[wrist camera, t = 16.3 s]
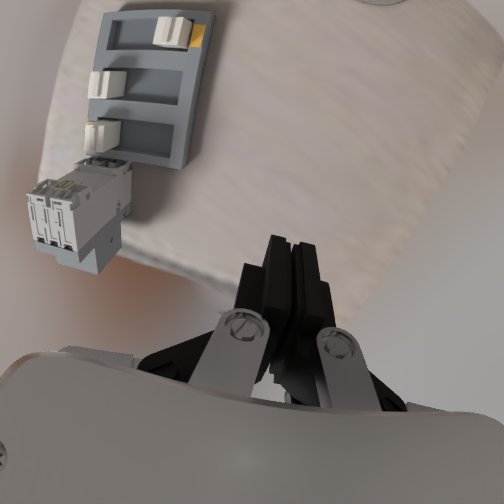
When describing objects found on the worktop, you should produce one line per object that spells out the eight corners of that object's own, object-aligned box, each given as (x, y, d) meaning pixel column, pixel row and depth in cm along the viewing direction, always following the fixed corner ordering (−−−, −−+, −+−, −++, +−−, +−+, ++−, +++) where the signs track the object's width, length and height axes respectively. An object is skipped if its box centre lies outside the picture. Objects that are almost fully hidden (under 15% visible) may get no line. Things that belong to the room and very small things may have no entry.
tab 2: (103, 119, 35) (83, 125, 30) (121, 120, 35) (102, 126, 31) (101, 142, 37) (82, 151, 32) (119, 144, 37) (100, 153, 32)
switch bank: (113, 15, 28) (103, 12, 25) (215, 15, 28) (210, 10, 26) (95, 150, 39) (85, 155, 36) (187, 164, 39) (180, 170, 37)
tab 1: (108, 71, 31) (88, 71, 27) (127, 71, 31) (107, 71, 27) (105, 95, 33) (85, 98, 29) (123, 95, 33) (104, 99, 29)
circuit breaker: (94, 235, 47) (45, 287, 34) (91, 155, 39) (26, 191, 26) (131, 244, 47) (86, 302, 34) (132, 160, 39) (71, 199, 27)
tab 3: (172, 23, 28) (157, 15, 23) (194, 24, 28) (182, 16, 23) (166, 47, 29) (150, 43, 25) (189, 49, 30) (175, 44, 25)
